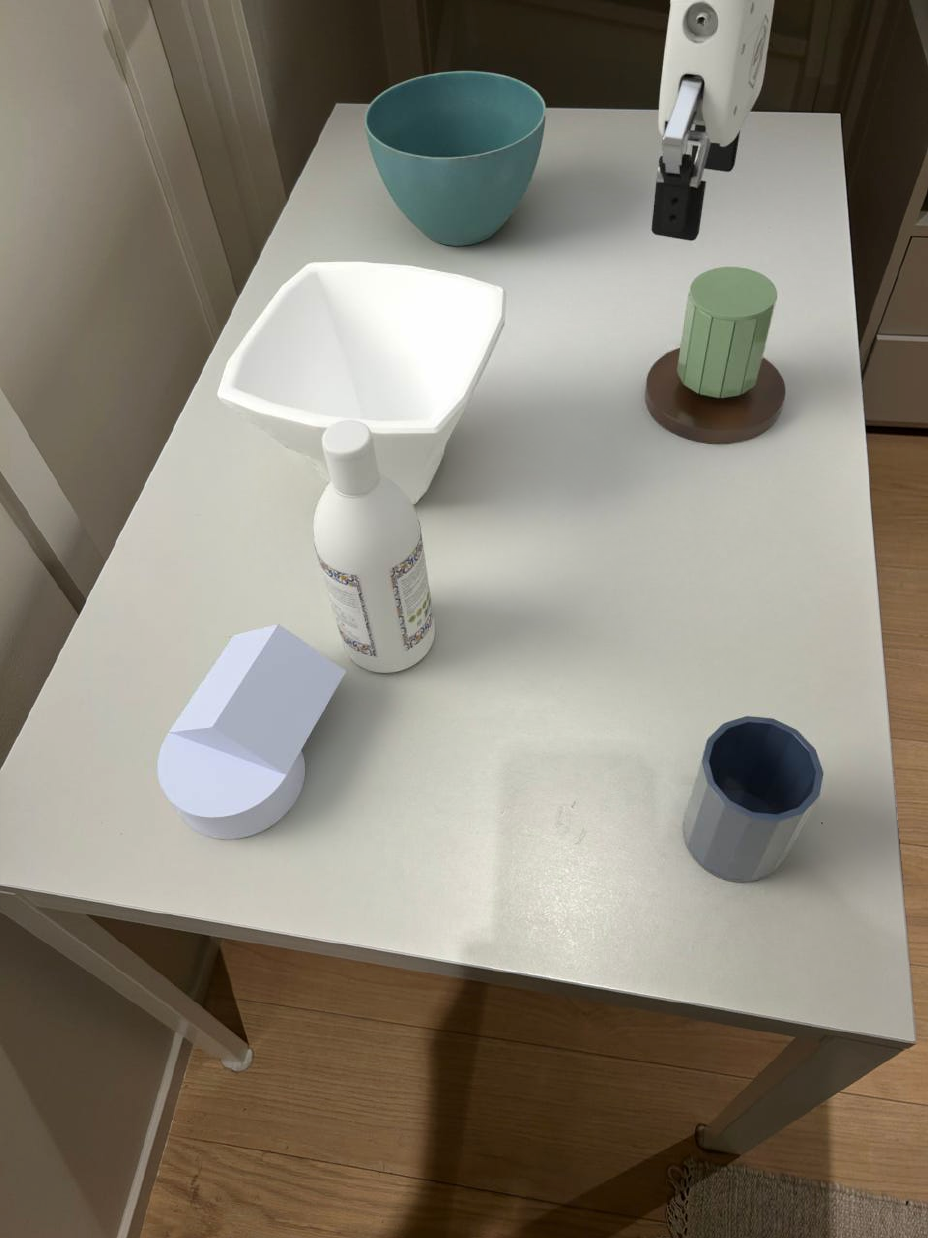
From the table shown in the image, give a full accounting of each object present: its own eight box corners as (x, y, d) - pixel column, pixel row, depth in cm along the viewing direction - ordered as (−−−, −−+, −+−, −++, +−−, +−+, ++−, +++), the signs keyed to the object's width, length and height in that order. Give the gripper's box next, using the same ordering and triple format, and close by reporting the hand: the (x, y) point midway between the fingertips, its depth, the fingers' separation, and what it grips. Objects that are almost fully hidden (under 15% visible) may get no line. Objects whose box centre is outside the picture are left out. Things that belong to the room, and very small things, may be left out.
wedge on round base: (245, 661, 69) (147, 812, 62) (221, 606, 64) (110, 765, 57) (353, 696, 67) (263, 858, 60) (337, 642, 61) (236, 813, 54)
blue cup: (794, 804, 60) (830, 734, 52) (777, 898, 56) (812, 837, 49) (695, 774, 61) (716, 702, 54) (672, 864, 58) (691, 800, 50)
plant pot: (538, 176, 108) (538, 63, 98) (551, 266, 97) (553, 148, 87) (382, 188, 108) (367, 76, 99) (378, 279, 97) (360, 163, 88)
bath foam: (429, 594, 72) (398, 387, 56) (442, 667, 68) (413, 467, 52) (340, 608, 71) (283, 405, 55) (347, 683, 67) (289, 487, 51)
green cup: (764, 355, 82) (784, 273, 75) (749, 404, 78) (768, 322, 72) (687, 341, 84) (700, 260, 77) (669, 388, 80) (681, 308, 74)
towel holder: (792, 369, 85) (820, 265, 76) (768, 456, 78) (796, 353, 70) (662, 345, 88) (676, 243, 80) (629, 428, 81) (640, 326, 73)
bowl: (525, 416, 83) (523, 278, 72) (459, 579, 72) (444, 446, 61) (333, 385, 87) (303, 249, 76) (244, 534, 77) (194, 402, 66)
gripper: (761, -25, 48) (713, 274, 61) (828, -130, 57) (773, 150, 71) (621, -36, 50) (605, 255, 64) (707, -135, 59) (677, 137, 73)
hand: (693, 200), depth 67 cm, fingers open, 9 cm apart
